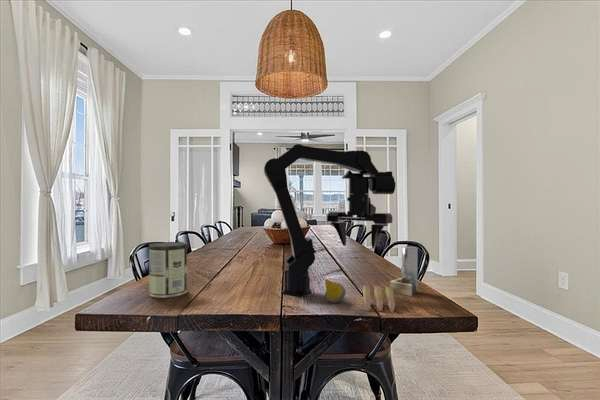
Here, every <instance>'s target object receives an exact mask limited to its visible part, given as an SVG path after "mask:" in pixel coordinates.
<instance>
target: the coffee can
mask: <svg viewBox="0 0 600 400" xmlns="http://www.w3.org/2000/svg"><path fill="white" fill-rule="evenodd" d="M187 247H188V243H187V242H184V241H164V242H163V241H162V242H154V243H150V244H148V248H149V249H148V251H149V256H148V257H149V263H148V264H149V266H148V267H149V272H148V273H149V276H148V277H149V281H148V282H149V294H148V295H149V297H152V298H155V299H156V298H158V299H159V298H160V299H164V298H173V297H174V298H175V297H179V296H183V295H185V294H186V293H187V294H188V284H187V283H188V277H187V276H188V264H187V263H188V259H187V258H188V248H187Z"/></svg>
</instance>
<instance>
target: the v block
mask: <svg viewBox="0 0 600 400" xmlns="http://www.w3.org/2000/svg"><path fill="white" fill-rule="evenodd" d="M389 287H392V289H393V294H398V295H402V296H409V297H411V296H413V294H412V284H406V283H402V277H398V278H396V279H393V280H389Z"/></svg>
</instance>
